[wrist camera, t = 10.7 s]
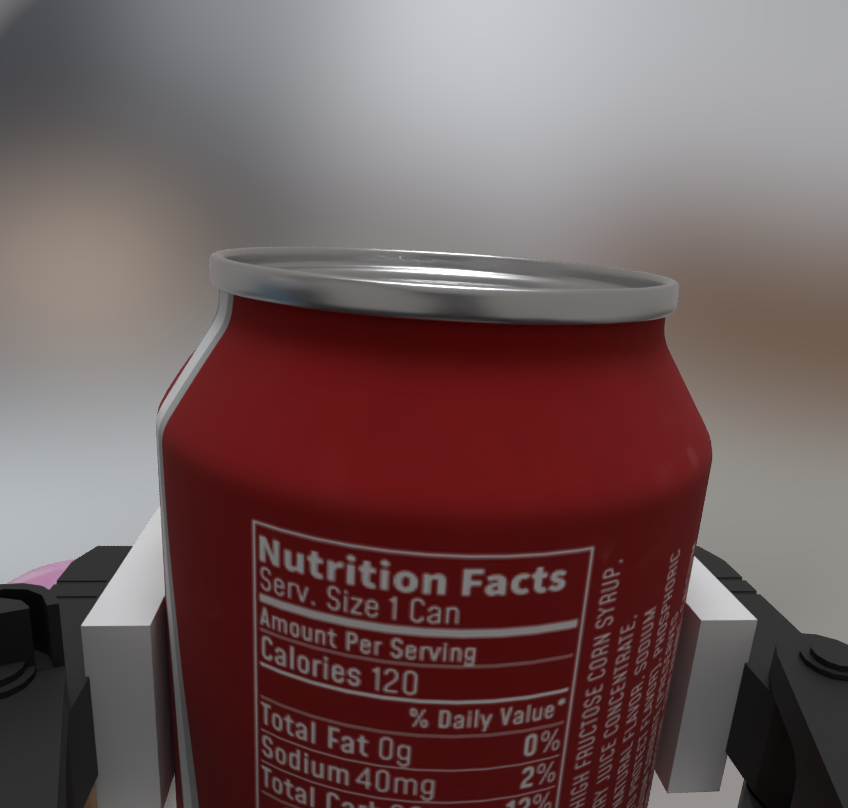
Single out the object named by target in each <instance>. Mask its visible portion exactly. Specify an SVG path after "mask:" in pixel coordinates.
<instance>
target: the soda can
mask: <svg viewBox="0 0 848 808" xmlns="http://www.w3.org/2000/svg"><path fill="white" fill-rule="evenodd" d="M209 271H210V280H211V283H212V284H213V285H214V286H215V287H216V288H218V289H219V304H218V309H217V312H216V315H215V317H214V318H213V320H212V322H211V323H210V325H209V326H208V328H207V330H206V331H205V333H204V334H203V336H202V337H201V339H200V340H199V342H198V344H197V345H196V347H195V348H194V350H193V351H192V353H191V354H190V356H189V358H188V359H187V361H186V362H185V364H184V365H183V367H182V368H181V370H180V371H179V373H178V374H177V376H176V378H175V379H174V381H173V382H172V384H171V385H170V387H169V388H168V390H167V392H166V394H165V396H164V398H163V399H162V401H161V403H160V406H159V409H158V414H157V421H156V436H157V454H158V471H159V489H160V490H159V491H160V509H161V528H162V546H163V565H164V583H165V601H166V620H167V638H168V656H169V675H170V693H171V712H172V730H173V748H174V767H175V785H176V804H177V808H647V806H648V801H649V796H650V790H651V785H652V779H653V774H654V769H655V764H656V758H657V753H658V747H659V742H660V737H661V731H662V726H663V721H664V715H665V710H666V705H667V699H668V694H669V689H670V683H671V678H672V672H673V667H674V662H675V656H676V651H677V646H678V640H679V635H680V630H681V624H682V619H683V613H684V608H685V603H686V597H687V592H688V587H689V581H690V576H691V571H692V565H693V560H694V554H695V549H696V544H697V538H698V533H699V528H700V522H701V517H702V512H703V506H704V501H705V496H706V490H707V485H708V479H709V474H710V468H711V463H712V447H711V440H710V436H709V434H708V432H707V429H706V426H705V424H704V422H703V420H702V418H701V416H700V414H699V412H698V410H697V408H696V406H695V404H694V401H693V399H692V397H691V395H690V393H689V391H688V389H687V387H686V385H685V383H684V381H683V379H682V377H681V375H680V373H679V370H678V368H677V366H676V364H675V362H674V360H673V358H672V356H671V354H670V352H669V350H668V347H667V344H666V341H665V336H664V324H665V317H666V316H669V315H670V314H672V313H673V312H674V311H675V309H676V306H677V300H678V293H679V284H678V283H677V282H676V281H675V280H673V279H670V278H667V277H664V276H660V275H655V274H651V273H646V272H639V271H634V270H627V269H621V268H613V267H605V266H598V265H590V264H581V263H572V262H563V261H553V260H543V259H531V258H520V257H508V256H495V255H482V254H468V253H453V252H436V251H418V250H398V249H373V248H371V249H370V248H343V247H341V248H340V247H256V248H238V249H228V250H222V251H217V252H215V253H213V254H212V255H211V256H210V260H209Z"/></svg>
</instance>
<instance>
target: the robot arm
mask: <svg viewBox="0 0 848 808" xmlns="http://www.w3.org/2000/svg"><path fill="white" fill-rule="evenodd" d="M727 755H728V756H729V758H730V759H731V761H732V762H733V763H734V765H735V766H736V768H737V769H738V771H739V772H740V774H741V775H742V777H743V778H744V782H743V786H742V791H741V795H740V799H739V804H738V808H848V645H847V644H845V643H843V642H840V641H838V640H835V639H831V638H827V637H823V636H820V635H816V634H803V633H801V632H799V631H798V630H797V629H796V628H795V627H794V626H793V625H792V624H791V623H790V622H789V621H788V620H787V619H786V618H785V617H784V616H783V615H781V614H780V613H779V612H778V611H777V610H776V609H775V608H774V607H773V606H772V605H771V604H770V603H769V602H768V601H767V600H766V599H765V598H763V597H762V596H761V595H757V593H756V590H755V589H754V588H753V587H752V586H751V585H750V584H749V583H747V581H744V580H743V581H742V577H741V576H740V575H739V574H738V573H737V572H736V571H735V570H734V569H733V568H731V566H729V565H728V564H727V563H726V562H725V561H724V560H722V559H720V558H719V557H717V556H715V555H713V554H712V553H710V552H708V551H706V550H704V549H702V548H700V547H699V546H696V549H695V554H694V560H693V565H692V571H691V576H690V581H689V587H688V592H687V597H686V603H685V608H684V613H683V619H682V624H681V630H680V635H679V640H678V646H677V651H676V656H675V662H674V667H673V672H672V678H671V683H670V689H669V694H668V699H667V705H666V710H665V715H664V721H663V726H662V731H661V737H660V742H659V747H658V753H657V758H656V764H655V771H656V773H657V775H658V777H659V778H660V780H661V782H662V784H663V786H664V788H665V790H666V791H667V793H684V792H685V793H687V792H711V791H719V790H720V786H721V781H722V777H723V773H724V768H725V764H726V759H727ZM174 773H175V767H174V748H173V730H172V712H171V693H170V675H169V656H168V638H167V620H166V601H165V583H164V565H163V546H162V528H161V509H160V506H159V508H158V509H157V511H156V512H155V514H154V515H153V517H152V519H151V520H150V521H149V523H148V524H147V526H146V527H145V529H144V531H143V532H142V533H141V535H140V537H139V538H138V540H137V541H136V543H135V544H134V546H97V547H95V548H94V549H92V550H90V551H89V552H87V553H85V554H84V555H82V556H81V557H79V558H77V559H76V560H74V561H72V562H71V563H70V565H69V566H68V567H67V568H66V570H65V571H64V572H63V573H62V575H61V576H60V577H59V578H58V580H57V583H56V584H54V585H53V586H52V587H51V588H50V590H49V589H47V588H45V587H44V586H41V585H34V584H27V583H14V584H0V808H84V805H85V803H86V801H87V799H88V797H89V794H90V792H91V790H92V788H93V786H94V783H95V784H96V794H97V805H98V808H163V807H164V804H165V801H166V798H167V795H168V792H169V788H170V785H171V782H172V779H173V776H174Z"/></svg>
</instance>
